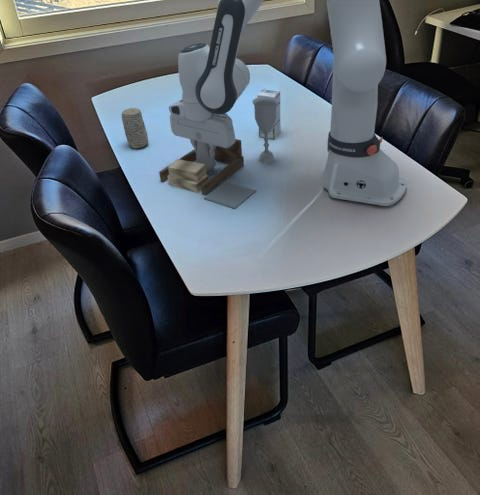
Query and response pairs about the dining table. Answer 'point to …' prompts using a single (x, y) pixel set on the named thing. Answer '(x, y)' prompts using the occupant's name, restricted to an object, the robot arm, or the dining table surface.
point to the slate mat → (230, 195)
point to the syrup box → (277, 127)
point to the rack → (221, 154)
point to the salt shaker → (204, 155)
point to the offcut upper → (187, 170)
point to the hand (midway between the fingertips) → (205, 154)
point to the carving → (134, 128)
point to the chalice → (265, 123)
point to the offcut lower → (187, 183)
